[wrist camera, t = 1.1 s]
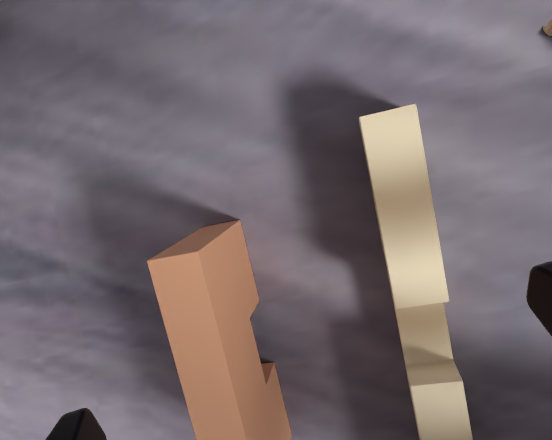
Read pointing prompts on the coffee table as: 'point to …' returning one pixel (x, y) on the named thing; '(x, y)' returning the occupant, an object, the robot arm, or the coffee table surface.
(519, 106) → the coffee table surface
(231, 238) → the notched tan block
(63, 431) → the robot arm
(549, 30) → the clay tablet
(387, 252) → the birch board
